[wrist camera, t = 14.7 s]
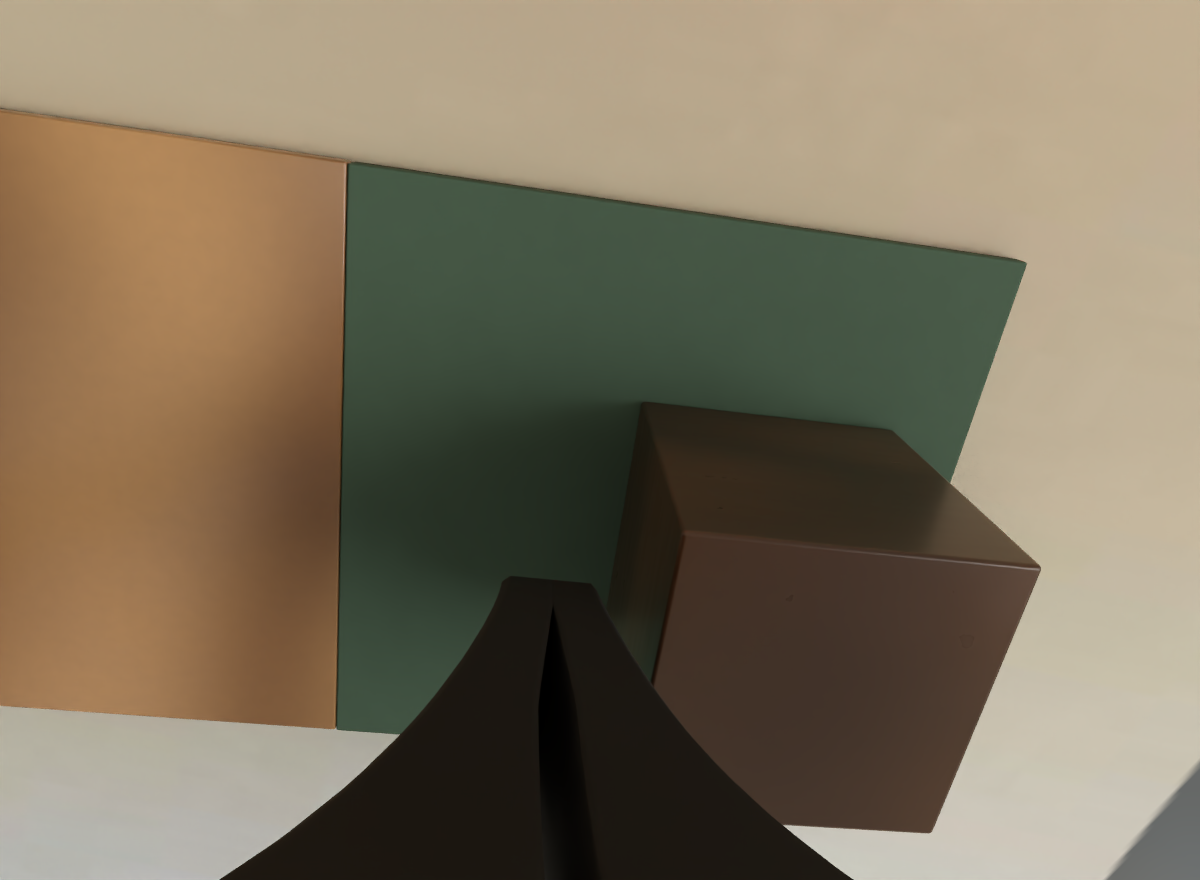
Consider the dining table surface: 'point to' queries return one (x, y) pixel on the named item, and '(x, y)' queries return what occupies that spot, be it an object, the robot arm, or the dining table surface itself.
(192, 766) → the dining table surface
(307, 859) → the robot arm
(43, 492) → the board
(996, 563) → the cube
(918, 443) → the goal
